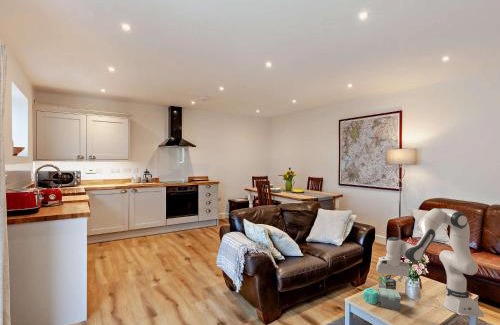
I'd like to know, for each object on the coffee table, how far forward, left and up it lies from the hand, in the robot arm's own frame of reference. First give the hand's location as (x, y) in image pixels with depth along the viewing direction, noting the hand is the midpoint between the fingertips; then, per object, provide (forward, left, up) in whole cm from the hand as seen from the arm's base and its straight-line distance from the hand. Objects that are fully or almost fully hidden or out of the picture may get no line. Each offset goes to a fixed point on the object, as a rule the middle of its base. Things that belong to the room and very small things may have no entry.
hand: (392, 280), depth 189 cm
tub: (0, -7, -21) cm, 22 cm away
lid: (0, -5, -14) cm, 15 cm away
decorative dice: (+12, -8, -22) cm, 26 cm away
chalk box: (-2, -25, -22) cm, 33 cm away
